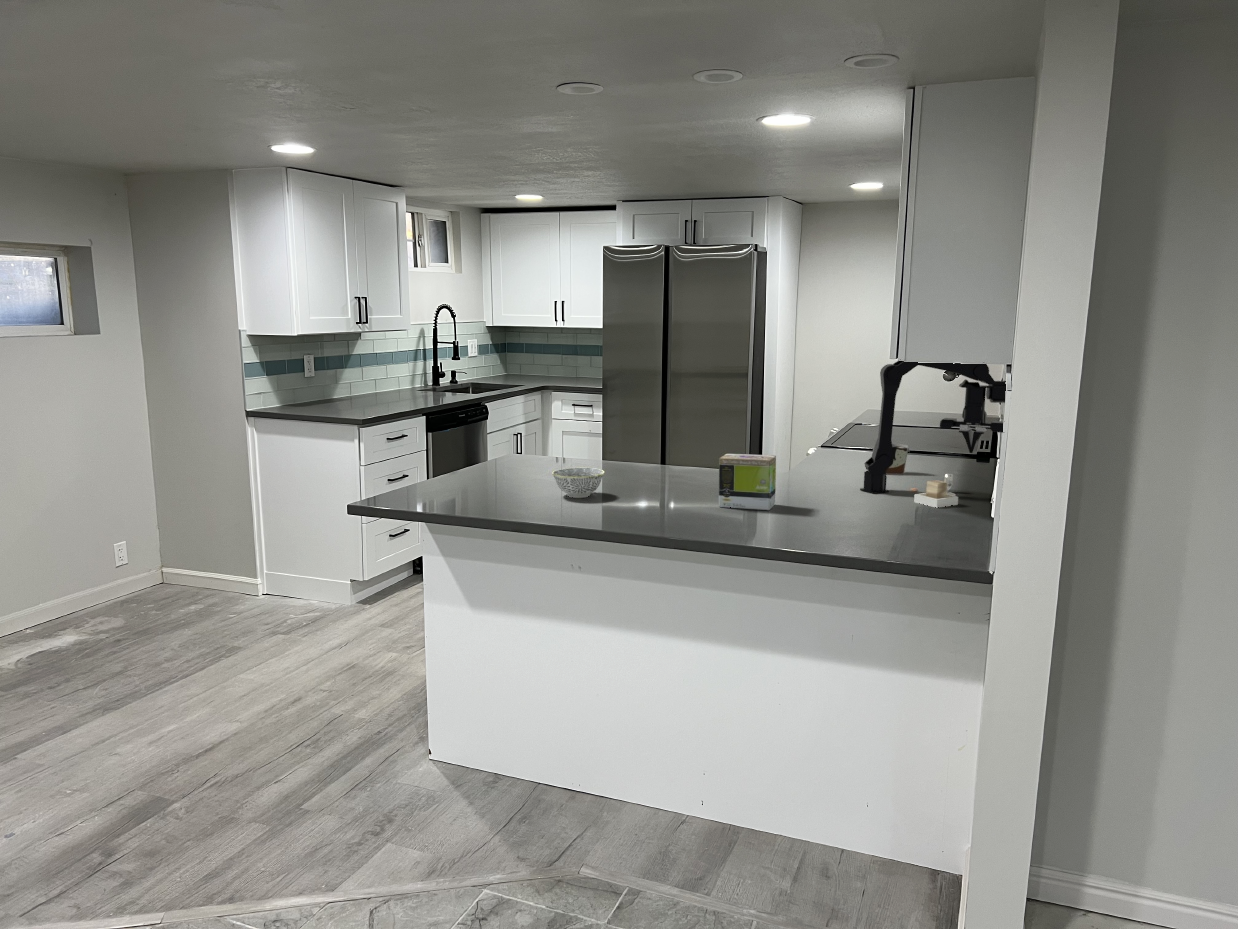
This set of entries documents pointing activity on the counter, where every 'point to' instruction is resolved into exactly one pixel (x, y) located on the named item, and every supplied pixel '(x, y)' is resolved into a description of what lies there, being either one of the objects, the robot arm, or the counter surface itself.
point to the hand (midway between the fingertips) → (971, 452)
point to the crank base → (947, 492)
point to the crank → (948, 480)
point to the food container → (899, 460)
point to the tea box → (747, 481)
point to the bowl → (578, 480)
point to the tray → (936, 500)
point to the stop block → (936, 489)
